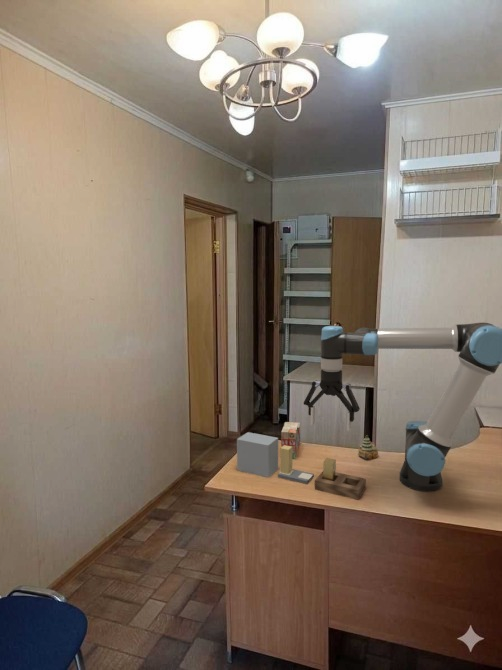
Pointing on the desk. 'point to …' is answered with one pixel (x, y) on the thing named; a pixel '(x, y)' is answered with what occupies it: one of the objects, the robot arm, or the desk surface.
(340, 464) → the desk surface
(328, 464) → the brass pin
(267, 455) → the block
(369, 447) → the ornament
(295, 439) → the stack of blocks
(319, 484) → the socket board
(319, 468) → the desk surface
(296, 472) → the board
